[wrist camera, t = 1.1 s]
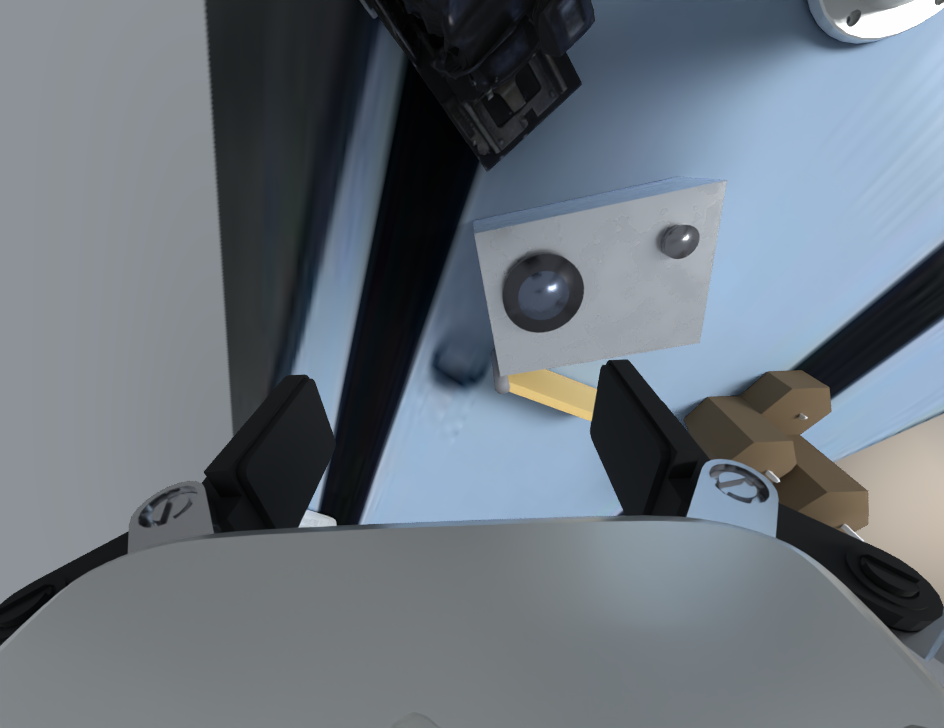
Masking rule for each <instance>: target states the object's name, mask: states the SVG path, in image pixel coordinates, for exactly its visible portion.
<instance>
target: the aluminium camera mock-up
mask: <svg viewBox="0 0 944 728" xmlns="http://www.w3.org/2000/svg"><path fill="white" fill-rule="evenodd" d="M726 183H727V180H716V179H701V178H686V177H675V178H670V179H665V180H661V181H656V182H651V183H647V184H642V185H637V186H633V187H628V188H623V189H619V190H614V191H610V192H605V193H600V194H596V195H591V196H586V197H582V198H577V199H572V200H568V201H563V202H559V203H554V204H549V205H545V206H540V207H535V208H531V209H526V210H521V211H517V212H512V213H507V214H503V215H498V216H494V217H489V218H484V219H480V220H475V221H473V227H474V236H475V242H476V247H477V252H478V258H479V263H480V269H481V274H482V279H483V285H484V290H485V296H486V301H487V306H488V312H489V317H490V323H491V328H492V333H493V339H494V344H495V350H496V355H497V360H498V366H499V371H500V377H501V376H507V375H513V374H519V373H525V372H531V371H537V370H542V369H548V368H554V367H560V366H566V365H572V364H578V363H584V362H589V361H595V360H601V359H607V358H613V357H619V356H625V355H630V354H636V353H642V352H648V351H654V350H660V349H666V348H671V347H677V346H683V345H689V344H695V343H700V338H701V332H702V326H703V320H704V314H705V308H706V302H707V296H708V290H709V284H710V278H711V272H712V266H713V260H714V255H715V249H716V243H717V237H718V231H719V225H720V219H721V213H722V207H723V201H724V195H725V189H726Z"/></svg>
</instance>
